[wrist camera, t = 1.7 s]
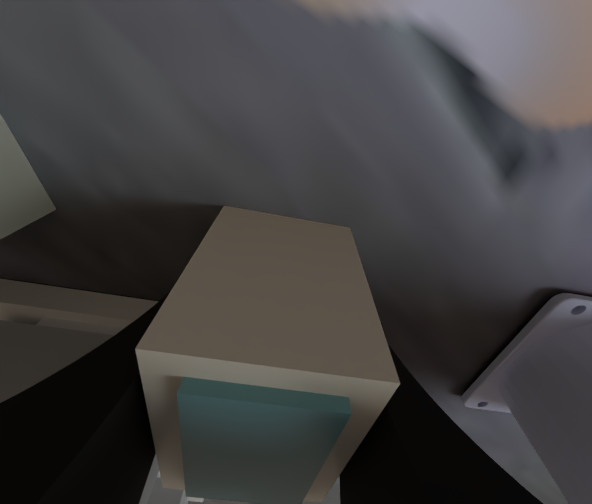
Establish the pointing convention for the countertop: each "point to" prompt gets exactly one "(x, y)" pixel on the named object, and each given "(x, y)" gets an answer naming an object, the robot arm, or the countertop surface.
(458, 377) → the countertop surface
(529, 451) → the countertop surface
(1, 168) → the contactor
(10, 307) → the rail board
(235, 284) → the block
